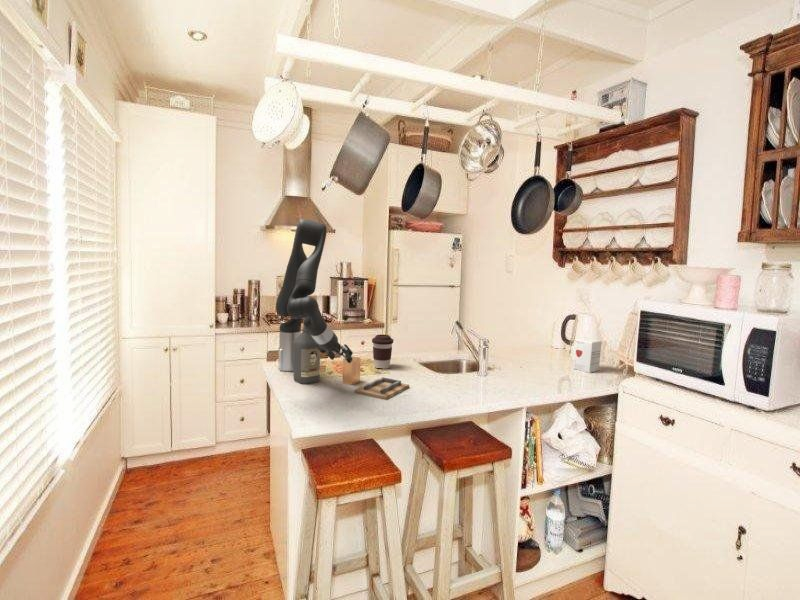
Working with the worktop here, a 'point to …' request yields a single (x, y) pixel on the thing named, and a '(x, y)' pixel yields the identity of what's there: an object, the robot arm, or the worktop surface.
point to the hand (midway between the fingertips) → (341, 359)
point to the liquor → (306, 358)
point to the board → (382, 388)
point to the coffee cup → (382, 350)
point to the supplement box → (587, 355)
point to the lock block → (351, 371)
